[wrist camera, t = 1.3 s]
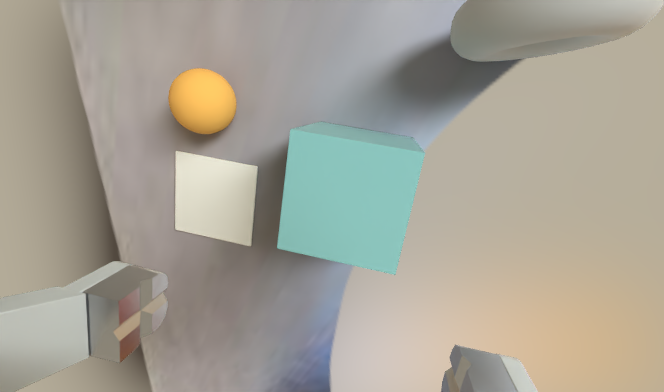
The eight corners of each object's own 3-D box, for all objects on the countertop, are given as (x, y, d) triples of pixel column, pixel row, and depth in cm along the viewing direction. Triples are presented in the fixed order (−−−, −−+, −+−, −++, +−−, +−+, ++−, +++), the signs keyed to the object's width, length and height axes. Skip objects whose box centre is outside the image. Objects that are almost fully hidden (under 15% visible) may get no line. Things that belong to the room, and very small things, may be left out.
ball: (193, 67, 27) (152, 59, 22) (248, 76, 27) (218, 70, 22) (192, 126, 29) (153, 130, 24) (244, 136, 28) (215, 142, 23)
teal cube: (320, 121, 27) (290, 129, 18) (412, 137, 26) (425, 152, 17) (309, 207, 29) (277, 248, 21) (392, 224, 28) (395, 274, 20)
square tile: (177, 150, 30) (175, 151, 29) (258, 166, 29) (257, 166, 28) (176, 228, 32) (175, 229, 32) (251, 245, 31) (250, 246, 31)
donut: (592, -2, 21) (756, -88, 12) (586, 53, 22) (735, 14, 13) (437, 20, 23) (472, -39, 14) (438, 70, 24) (471, 48, 15)
